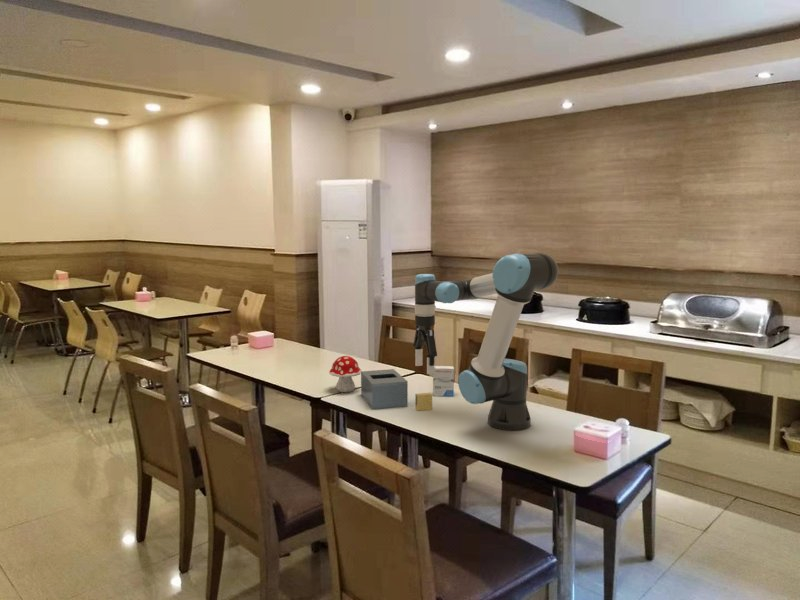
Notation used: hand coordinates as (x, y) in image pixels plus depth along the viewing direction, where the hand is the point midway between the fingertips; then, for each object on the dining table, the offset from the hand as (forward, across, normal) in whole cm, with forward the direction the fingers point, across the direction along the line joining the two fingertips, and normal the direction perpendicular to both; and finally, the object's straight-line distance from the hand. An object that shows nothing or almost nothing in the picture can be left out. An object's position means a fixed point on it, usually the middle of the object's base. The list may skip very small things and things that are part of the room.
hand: (424, 369), depth 227 cm
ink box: (+15, +14, -13) cm, 25 cm away
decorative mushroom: (+15, +32, +24) cm, 43 cm away
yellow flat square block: (+15, -1, +1) cm, 15 cm away
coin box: (+15, +14, +13) cm, 24 cm away
